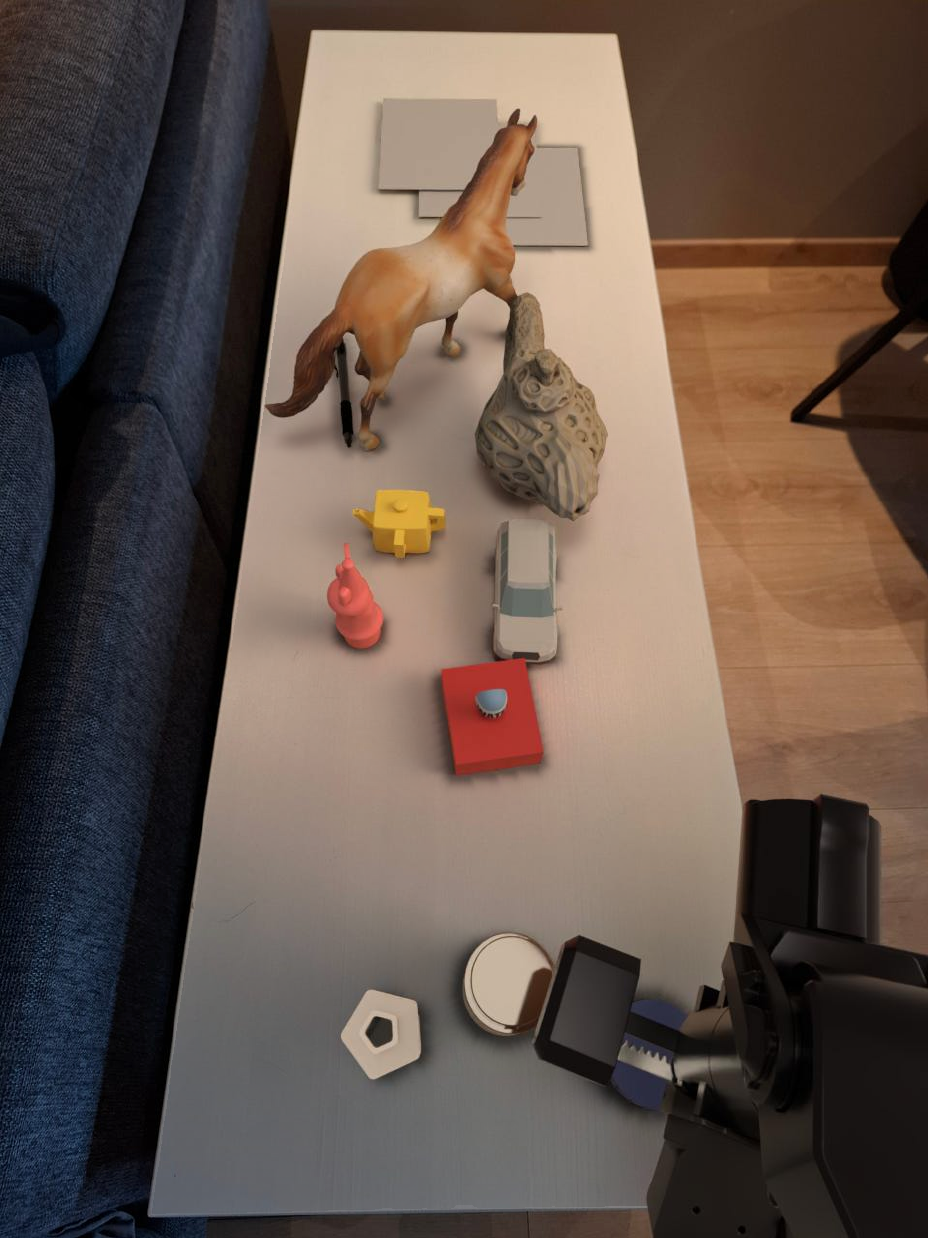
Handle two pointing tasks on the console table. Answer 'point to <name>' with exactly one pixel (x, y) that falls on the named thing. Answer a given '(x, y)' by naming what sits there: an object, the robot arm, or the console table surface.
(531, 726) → the red box
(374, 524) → the teapot
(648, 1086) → the jar lid
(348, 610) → the figurine
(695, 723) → the console table surface
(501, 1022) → the jar
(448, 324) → the horse figurine
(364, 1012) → the white pentagonal vase
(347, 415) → the pen
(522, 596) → the toy car
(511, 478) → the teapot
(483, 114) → the paper stack
